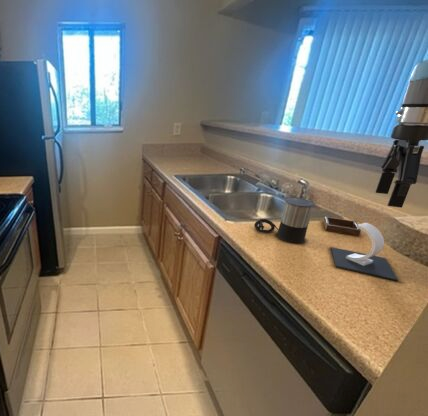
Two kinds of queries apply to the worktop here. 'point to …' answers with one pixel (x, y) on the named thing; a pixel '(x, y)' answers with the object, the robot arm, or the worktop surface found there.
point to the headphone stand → (376, 244)
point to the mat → (374, 269)
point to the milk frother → (291, 220)
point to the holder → (339, 229)
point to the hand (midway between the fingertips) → (387, 199)
